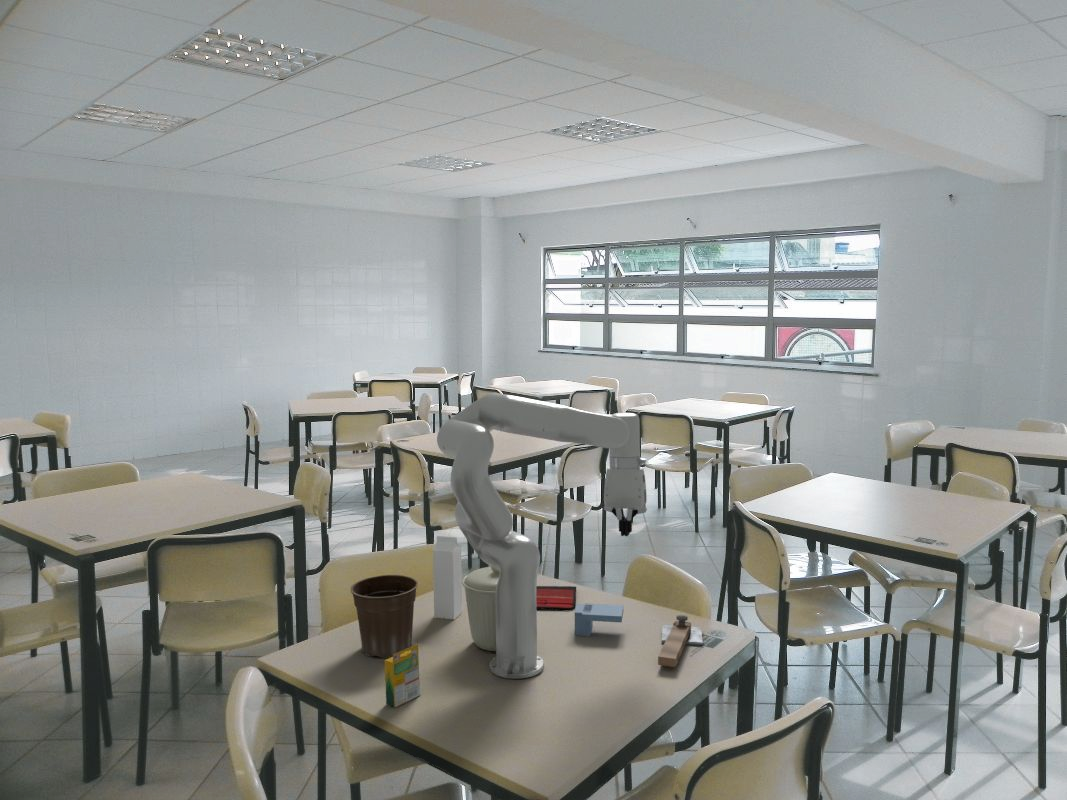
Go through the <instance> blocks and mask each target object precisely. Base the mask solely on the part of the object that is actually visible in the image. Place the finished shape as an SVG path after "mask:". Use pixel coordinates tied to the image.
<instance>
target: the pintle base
mask: <svg viewBox="0 0 1067 800" xmlns="http://www.w3.org/2000/svg"><path fill="white" fill-rule="evenodd" d="M672 627H673V625H671V624H669V625H667V624H662V626H661V644H664V643H665V641H666V639H667V637H668V635H669V633H670V631H671V629H672ZM703 641H704V640H703V631H702V627H701V626H691V633H690V634H689V636H688V639H687V641H686V643H685V646H699V645H703V644H704V642H703Z"/></svg>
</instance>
